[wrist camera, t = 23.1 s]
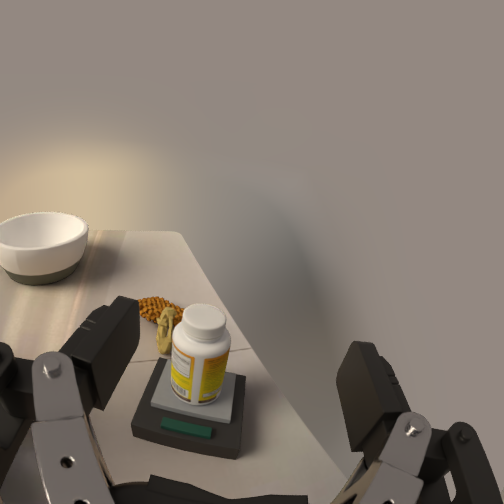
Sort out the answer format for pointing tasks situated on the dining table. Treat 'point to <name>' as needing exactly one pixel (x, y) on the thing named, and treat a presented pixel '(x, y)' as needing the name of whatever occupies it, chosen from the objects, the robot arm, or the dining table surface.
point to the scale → (191, 416)
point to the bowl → (42, 246)
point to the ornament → (161, 319)
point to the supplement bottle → (199, 354)
